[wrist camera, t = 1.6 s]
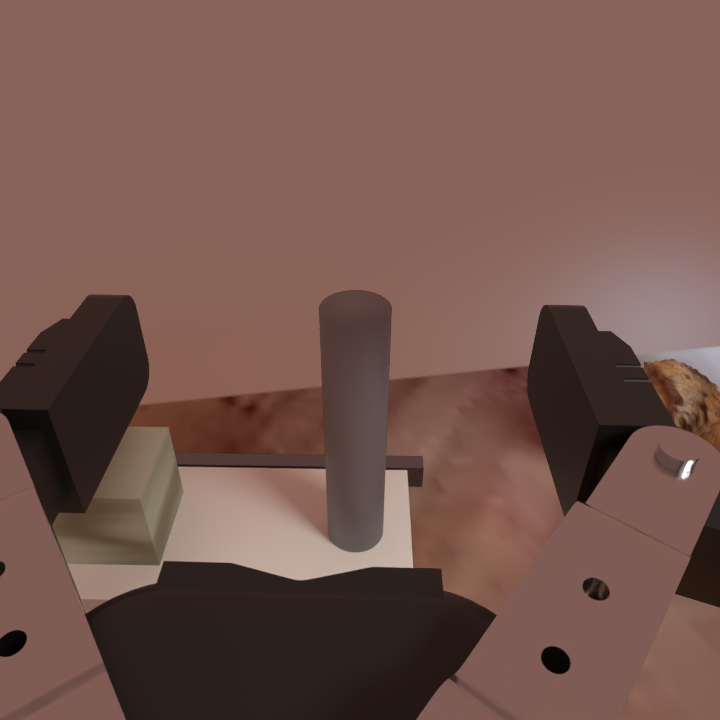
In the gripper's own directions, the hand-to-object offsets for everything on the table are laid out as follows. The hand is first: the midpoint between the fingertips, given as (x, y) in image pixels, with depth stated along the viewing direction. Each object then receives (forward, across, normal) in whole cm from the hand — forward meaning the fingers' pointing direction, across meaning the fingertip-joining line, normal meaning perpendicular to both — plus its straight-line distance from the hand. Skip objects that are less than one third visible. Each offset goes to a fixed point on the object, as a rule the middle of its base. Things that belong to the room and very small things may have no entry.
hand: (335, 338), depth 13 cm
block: (+12, +12, +20) cm, 27 cm away
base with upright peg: (+12, +7, +22) cm, 26 cm away
